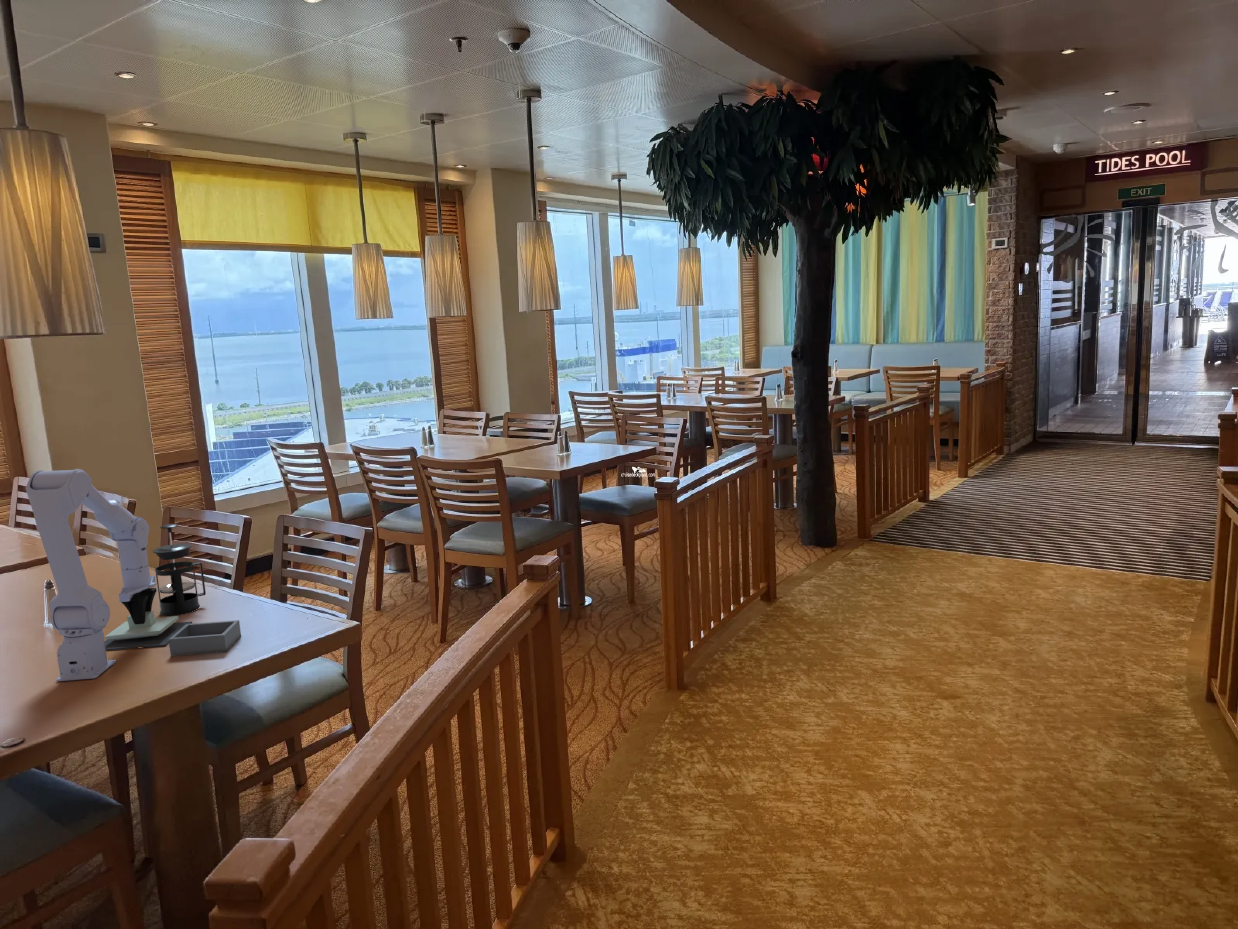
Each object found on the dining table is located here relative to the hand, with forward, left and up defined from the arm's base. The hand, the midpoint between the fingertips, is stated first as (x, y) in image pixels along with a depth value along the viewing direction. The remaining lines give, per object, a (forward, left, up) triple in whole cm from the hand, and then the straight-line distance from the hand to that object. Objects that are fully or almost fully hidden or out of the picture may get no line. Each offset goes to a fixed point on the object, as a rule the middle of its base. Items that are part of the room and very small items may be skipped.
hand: (142, 621), depth 204 cm
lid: (0, 0, -3) cm, 3 cm away
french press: (+20, -1, -4) cm, 20 cm away
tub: (-10, -18, -4) cm, 21 cm away
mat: (0, 0, -4) cm, 4 cm away
